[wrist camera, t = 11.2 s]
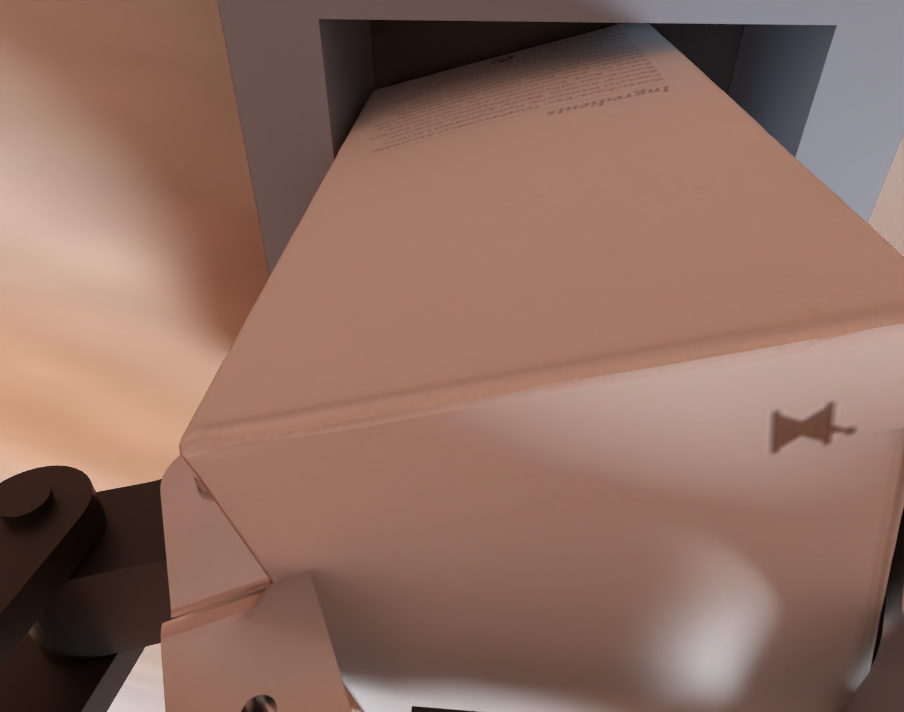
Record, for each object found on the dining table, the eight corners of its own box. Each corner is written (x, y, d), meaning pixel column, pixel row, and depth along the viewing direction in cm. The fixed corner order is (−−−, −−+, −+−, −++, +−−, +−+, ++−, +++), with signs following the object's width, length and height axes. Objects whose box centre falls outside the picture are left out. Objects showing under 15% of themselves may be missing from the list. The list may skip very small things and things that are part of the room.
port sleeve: (863, -108, 11) (1000, -104, 8) (703, 421, 19) (742, 532, 16) (282, -107, 12) (198, -104, 9) (346, 403, 19) (313, 506, 16)
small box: (369, 84, 13) (139, 431, 5) (648, 9, 12) (995, 285, 4) (464, 384, 18) (431, 842, 9) (675, 349, 17) (859, 831, 8)
